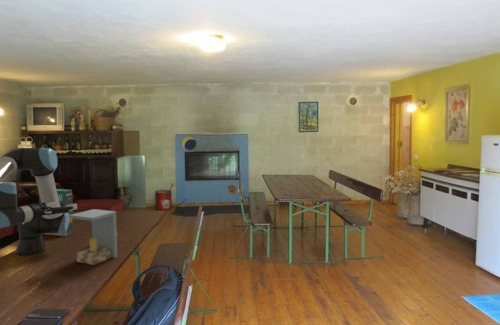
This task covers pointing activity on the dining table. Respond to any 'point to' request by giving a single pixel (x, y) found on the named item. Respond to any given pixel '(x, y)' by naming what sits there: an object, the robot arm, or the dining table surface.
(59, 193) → the cake mix box
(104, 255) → the socket block
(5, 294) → the dining table surface
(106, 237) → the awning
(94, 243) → the peg
